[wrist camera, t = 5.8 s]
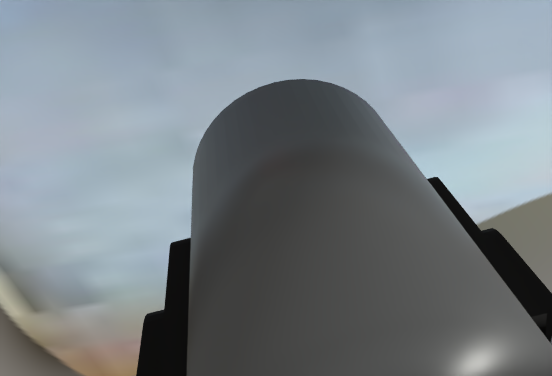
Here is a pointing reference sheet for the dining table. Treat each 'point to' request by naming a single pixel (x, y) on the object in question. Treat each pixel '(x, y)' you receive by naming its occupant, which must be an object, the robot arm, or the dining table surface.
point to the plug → (337, 253)
